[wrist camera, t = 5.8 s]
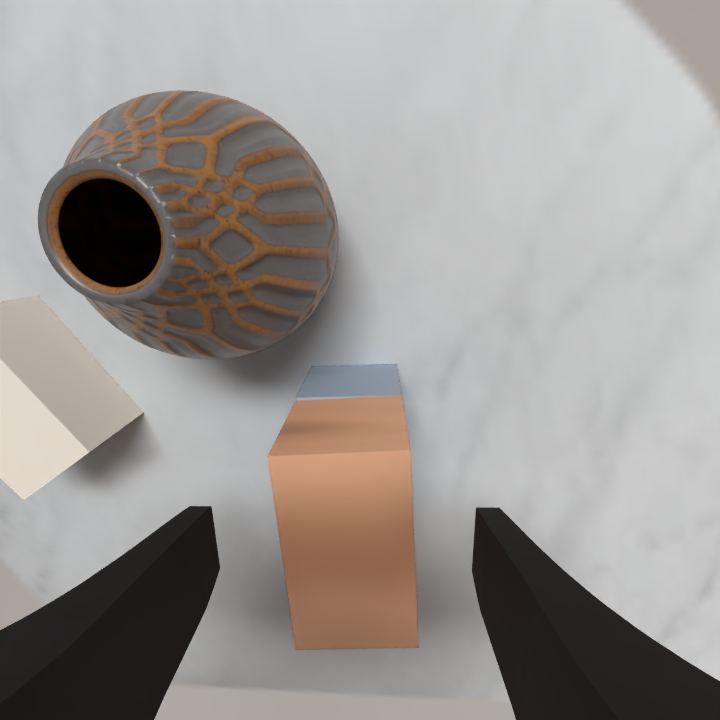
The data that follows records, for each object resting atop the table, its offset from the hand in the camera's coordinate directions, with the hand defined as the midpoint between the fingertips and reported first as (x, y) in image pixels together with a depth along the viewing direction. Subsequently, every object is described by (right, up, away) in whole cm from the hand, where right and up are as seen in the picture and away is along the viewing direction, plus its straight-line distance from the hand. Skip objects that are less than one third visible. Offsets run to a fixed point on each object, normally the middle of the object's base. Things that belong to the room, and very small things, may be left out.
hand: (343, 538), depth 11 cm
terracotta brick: (0, +1, +3) cm, 3 cm away
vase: (-3, +9, +4) cm, 11 cm away
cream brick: (-12, +4, +6) cm, 14 cm away
